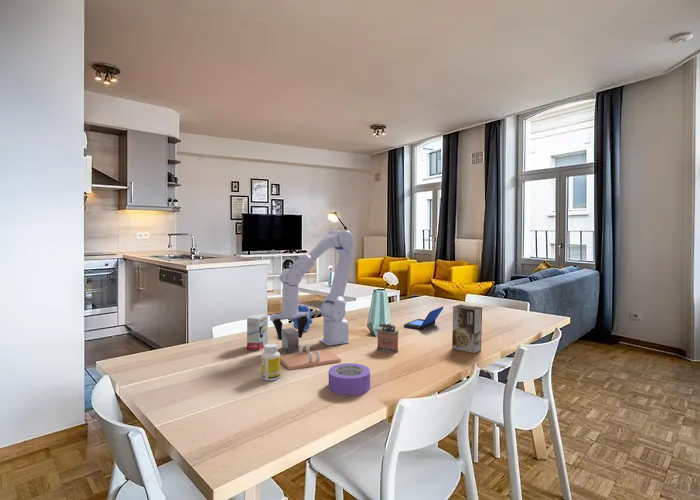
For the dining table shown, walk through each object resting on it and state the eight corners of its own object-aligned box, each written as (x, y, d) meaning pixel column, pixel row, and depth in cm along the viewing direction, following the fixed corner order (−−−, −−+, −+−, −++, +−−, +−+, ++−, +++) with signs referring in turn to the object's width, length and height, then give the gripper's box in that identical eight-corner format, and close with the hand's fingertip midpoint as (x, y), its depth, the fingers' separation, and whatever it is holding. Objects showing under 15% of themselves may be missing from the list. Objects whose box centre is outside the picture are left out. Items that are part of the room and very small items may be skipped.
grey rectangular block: (292, 346, 150) (292, 328, 150) (298, 351, 144) (298, 332, 143) (281, 347, 148) (282, 329, 148) (287, 353, 142) (287, 333, 142)
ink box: (258, 351, 144) (258, 318, 143) (246, 350, 145) (246, 317, 144) (268, 344, 152) (268, 313, 152) (256, 343, 153) (256, 313, 153)
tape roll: (337, 399, 105) (337, 380, 104) (322, 383, 115) (322, 366, 115) (377, 392, 109) (377, 374, 109) (359, 377, 120) (359, 361, 120)
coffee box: (481, 350, 149) (483, 307, 148) (474, 353, 144) (475, 309, 143) (459, 344, 155) (460, 303, 154) (451, 348, 150) (452, 306, 149)
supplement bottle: (283, 375, 120) (283, 343, 119) (274, 382, 115) (274, 348, 114) (267, 373, 122) (267, 341, 121) (258, 379, 117) (258, 346, 116)
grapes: (298, 336, 164) (298, 307, 163) (287, 333, 168) (287, 305, 168) (318, 331, 173) (318, 303, 172) (308, 328, 177) (308, 301, 177)
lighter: (399, 350, 146) (399, 323, 146) (396, 353, 143) (397, 325, 143) (378, 347, 150) (379, 321, 149) (375, 350, 147) (376, 323, 146)
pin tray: (326, 351, 144) (326, 340, 144) (340, 361, 133) (340, 350, 133) (278, 358, 136) (278, 347, 136) (289, 369, 125) (289, 357, 125)
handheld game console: (417, 321, 194) (418, 302, 194) (443, 325, 187) (444, 306, 186) (402, 327, 182) (403, 307, 181) (429, 332, 174) (430, 311, 173)
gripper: (274, 305, 138) (273, 343, 139) (312, 302, 145) (312, 339, 146) (268, 301, 144) (268, 338, 145) (306, 299, 151) (305, 334, 152)
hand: (290, 338), depth 146 cm, fingers open, 7 cm apart
